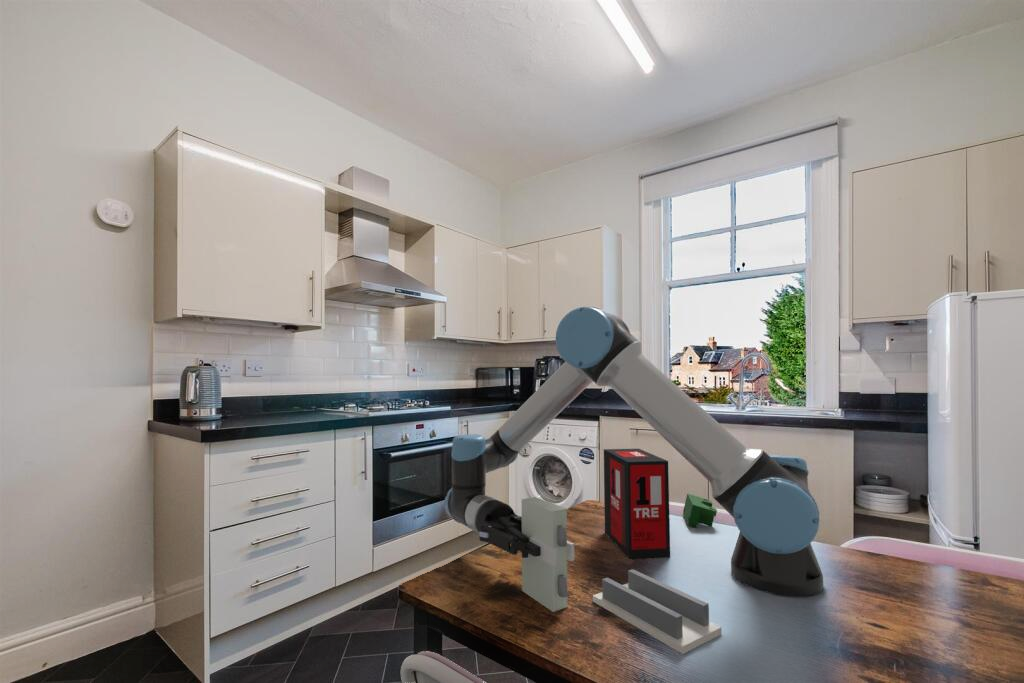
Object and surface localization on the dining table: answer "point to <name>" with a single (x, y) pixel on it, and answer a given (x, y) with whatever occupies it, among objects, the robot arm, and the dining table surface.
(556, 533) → the door
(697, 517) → the clamp
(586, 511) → the dining table surface
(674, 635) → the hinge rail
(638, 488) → the cleaning product box
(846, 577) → the dining table surface
